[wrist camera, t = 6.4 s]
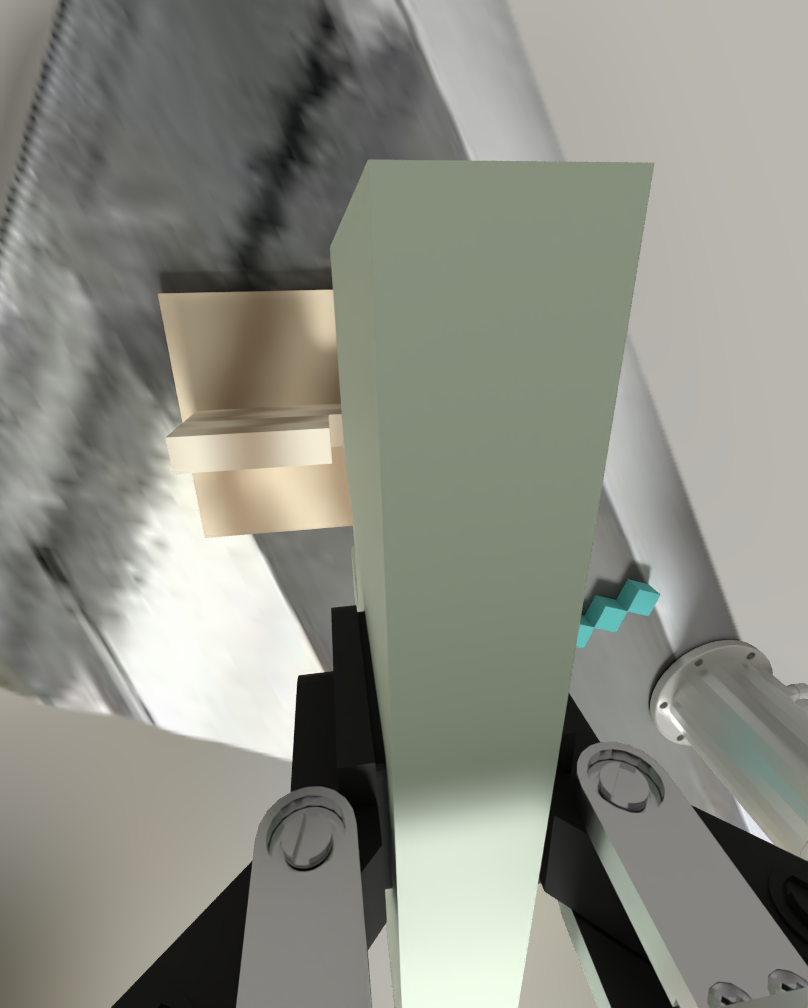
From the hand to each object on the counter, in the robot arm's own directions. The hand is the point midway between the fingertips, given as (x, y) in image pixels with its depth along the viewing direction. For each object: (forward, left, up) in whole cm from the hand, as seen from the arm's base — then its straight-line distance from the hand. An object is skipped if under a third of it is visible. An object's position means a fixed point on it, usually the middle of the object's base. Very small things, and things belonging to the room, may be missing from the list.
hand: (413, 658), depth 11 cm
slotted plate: (0, -1, -8) cm, 8 cm away
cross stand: (0, 0, -26) cm, 26 cm away
